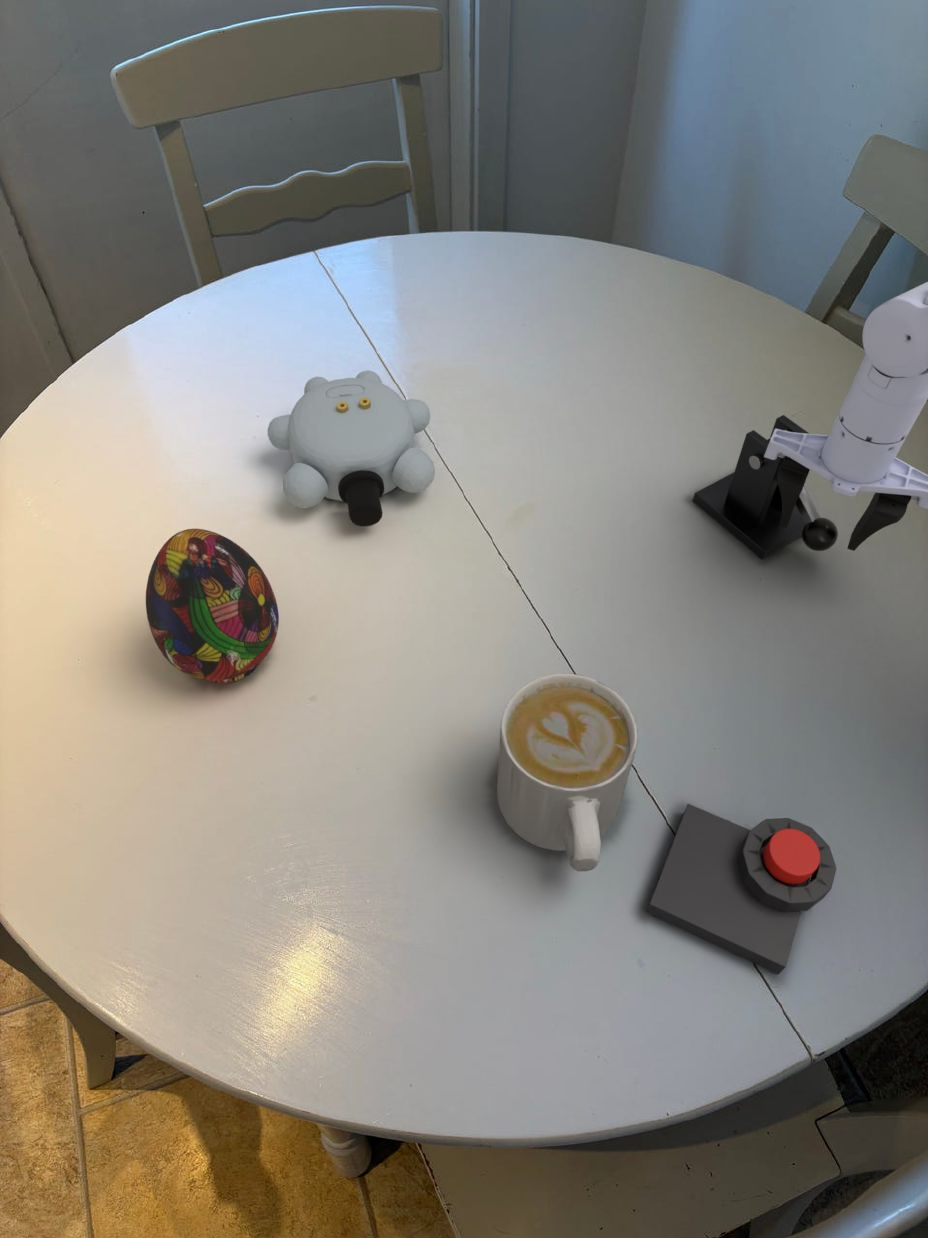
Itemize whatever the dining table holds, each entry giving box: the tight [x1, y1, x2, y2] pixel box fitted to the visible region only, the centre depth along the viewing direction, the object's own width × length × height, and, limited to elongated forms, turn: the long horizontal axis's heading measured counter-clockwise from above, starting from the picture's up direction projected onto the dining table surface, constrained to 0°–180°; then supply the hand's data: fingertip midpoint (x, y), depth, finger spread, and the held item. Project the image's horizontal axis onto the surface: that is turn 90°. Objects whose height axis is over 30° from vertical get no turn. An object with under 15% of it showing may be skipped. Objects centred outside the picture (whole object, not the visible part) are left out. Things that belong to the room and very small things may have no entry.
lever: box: [766, 430, 839, 552], centre depth 85 cm, size 12×3×3 cm
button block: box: [645, 803, 837, 975], centre depth 66 cm, size 11×10×4 cm
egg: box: [145, 528, 280, 684], centre depth 75 cm, size 11×11×15 cm
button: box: [763, 829, 820, 885], centre depth 65 cm, size 4×4×2 cm
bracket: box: [692, 414, 810, 560], centre depth 88 cm, size 10×8×10 cm
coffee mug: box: [496, 673, 639, 872], centre depth 67 cm, size 13×10×10 cm
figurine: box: [267, 370, 436, 528], centre depth 93 cm, size 17×8×20 cm
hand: (818, 531), depth 85 cm, fingers open, 6 cm apart
